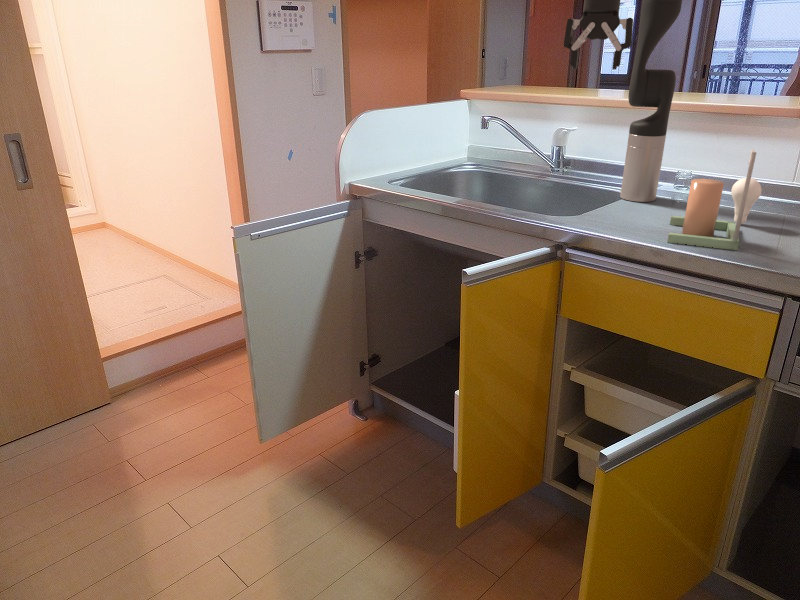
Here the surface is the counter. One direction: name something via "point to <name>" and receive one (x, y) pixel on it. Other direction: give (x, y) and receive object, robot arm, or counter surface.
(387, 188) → the counter surface
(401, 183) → the counter surface
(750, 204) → the lightbulb
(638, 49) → the robot arm
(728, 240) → the green u-shaped stand
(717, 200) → the peach cylinder
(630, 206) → the counter surface
